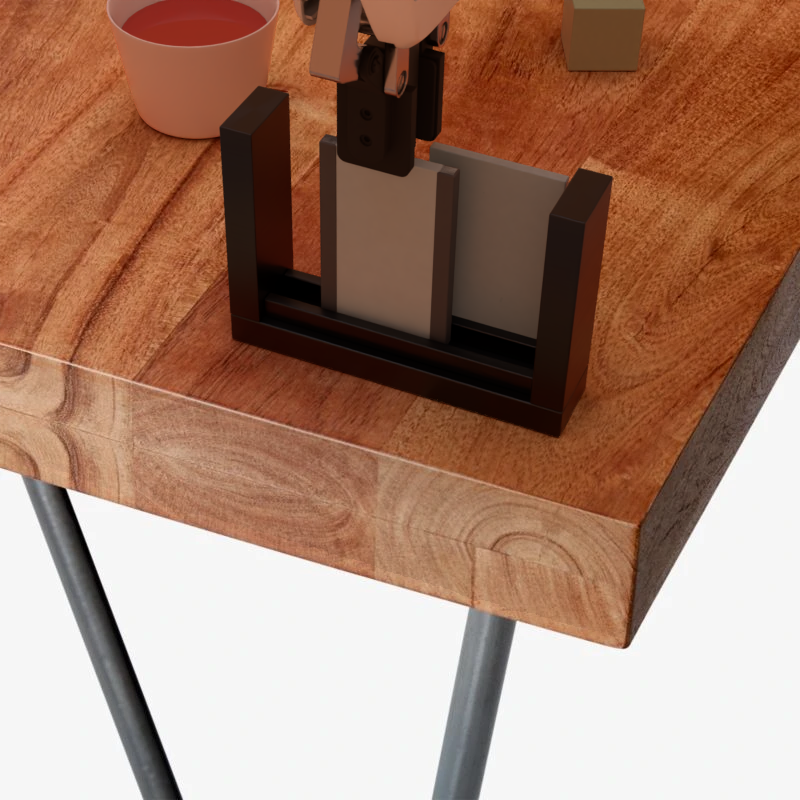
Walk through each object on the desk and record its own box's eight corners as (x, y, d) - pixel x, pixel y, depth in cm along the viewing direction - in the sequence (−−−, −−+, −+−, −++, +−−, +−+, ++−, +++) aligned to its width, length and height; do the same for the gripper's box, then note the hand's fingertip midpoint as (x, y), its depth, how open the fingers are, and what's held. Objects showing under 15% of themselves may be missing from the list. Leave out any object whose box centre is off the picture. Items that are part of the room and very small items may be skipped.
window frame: (231, 339, 76) (218, 126, 69) (266, 294, 79) (258, 84, 71) (559, 438, 72) (585, 223, 64) (585, 388, 74) (613, 175, 67)
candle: (163, 51, 95) (155, -51, 91) (308, 83, 93) (306, -19, 89) (87, 131, 89) (74, 26, 85) (240, 168, 87) (235, 61, 82)
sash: (314, 321, 75) (309, 30, 65) (333, 296, 76) (331, 7, 66) (439, 358, 73) (454, 65, 63) (456, 332, 74) (473, 41, 64)
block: (627, 35, 98) (635, -27, 95) (637, 71, 95) (645, 8, 92) (560, 35, 98) (566, -27, 95) (567, 71, 95) (574, 8, 92)
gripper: (408, -209, 49) (395, 280, 62) (582, -365, 60) (541, 77, 73) (186, -253, 51) (216, 229, 64) (392, -396, 62) (384, 39, 75)
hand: (389, 145), depth 68 cm, fingers closed on sash, 2 cm apart
